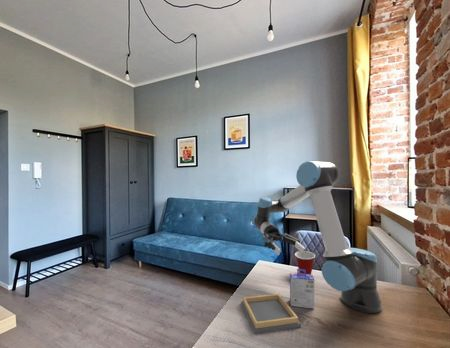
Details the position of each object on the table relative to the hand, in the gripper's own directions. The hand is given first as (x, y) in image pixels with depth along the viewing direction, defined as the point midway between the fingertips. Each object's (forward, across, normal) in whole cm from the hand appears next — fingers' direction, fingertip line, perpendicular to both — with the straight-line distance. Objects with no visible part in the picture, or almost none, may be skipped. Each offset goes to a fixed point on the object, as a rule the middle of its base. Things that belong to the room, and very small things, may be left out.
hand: (292, 251), depth 103 cm
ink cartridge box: (+12, -1, -18) cm, 22 cm away
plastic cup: (-10, -20, -22) cm, 31 cm away
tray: (+14, +17, -19) cm, 28 cm away
